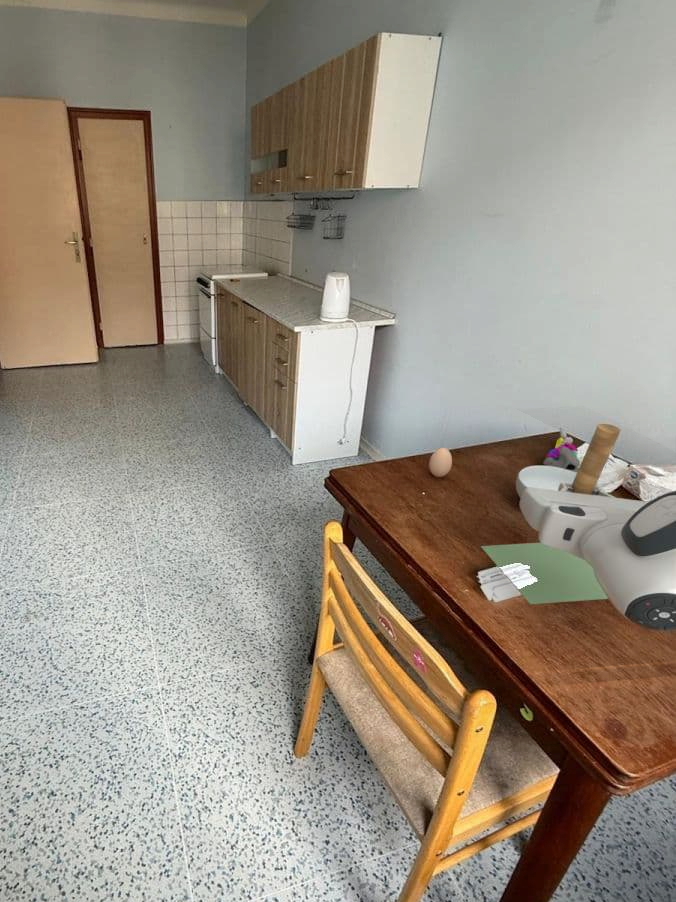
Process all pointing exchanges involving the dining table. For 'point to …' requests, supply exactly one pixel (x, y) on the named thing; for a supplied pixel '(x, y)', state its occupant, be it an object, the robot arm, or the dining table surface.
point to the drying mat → (549, 572)
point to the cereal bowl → (544, 478)
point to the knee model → (563, 454)
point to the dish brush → (595, 458)
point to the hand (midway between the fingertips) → (578, 488)
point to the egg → (440, 462)
